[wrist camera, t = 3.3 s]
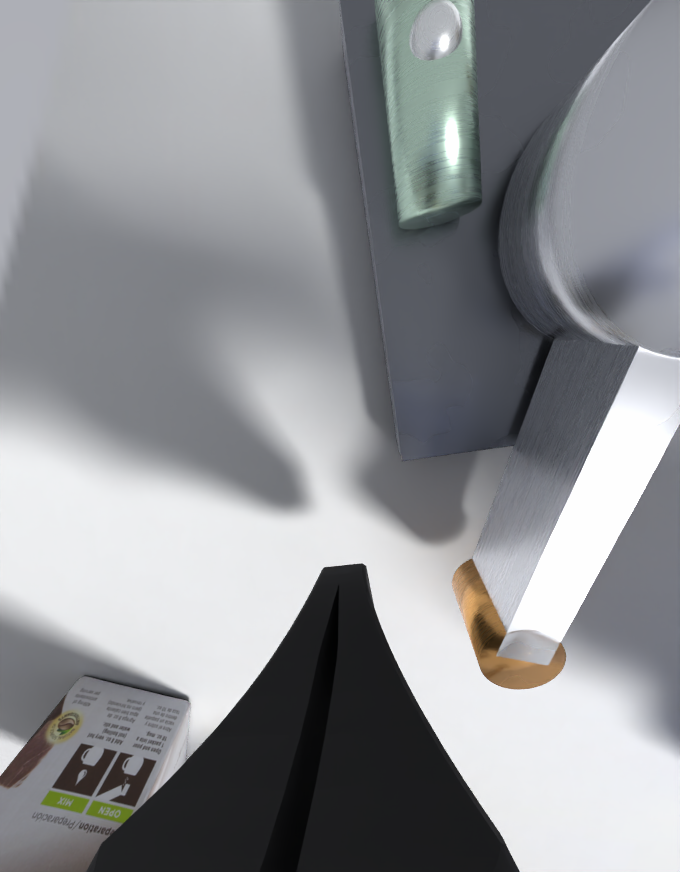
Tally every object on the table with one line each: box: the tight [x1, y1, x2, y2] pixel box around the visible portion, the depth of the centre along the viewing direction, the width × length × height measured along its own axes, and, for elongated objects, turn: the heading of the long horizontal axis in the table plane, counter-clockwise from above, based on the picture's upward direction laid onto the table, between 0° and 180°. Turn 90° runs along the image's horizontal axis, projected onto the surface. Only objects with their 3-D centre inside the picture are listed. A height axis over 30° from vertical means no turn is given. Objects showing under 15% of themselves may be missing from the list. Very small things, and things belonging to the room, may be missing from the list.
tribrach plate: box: [339, 0, 651, 461], centre depth 8 cm, size 11×12×4 cm
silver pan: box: [452, 0, 680, 689], centre depth 8 cm, size 15×6×3 cm, turn 171°
